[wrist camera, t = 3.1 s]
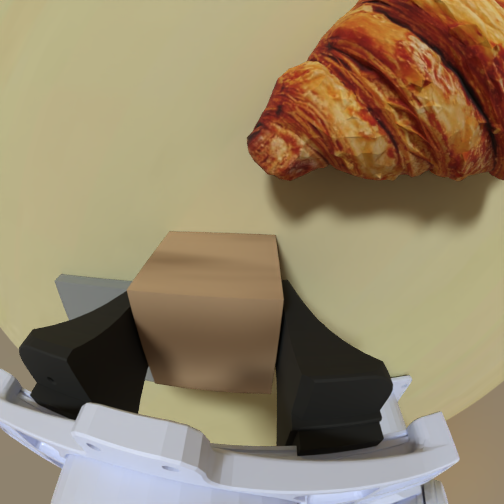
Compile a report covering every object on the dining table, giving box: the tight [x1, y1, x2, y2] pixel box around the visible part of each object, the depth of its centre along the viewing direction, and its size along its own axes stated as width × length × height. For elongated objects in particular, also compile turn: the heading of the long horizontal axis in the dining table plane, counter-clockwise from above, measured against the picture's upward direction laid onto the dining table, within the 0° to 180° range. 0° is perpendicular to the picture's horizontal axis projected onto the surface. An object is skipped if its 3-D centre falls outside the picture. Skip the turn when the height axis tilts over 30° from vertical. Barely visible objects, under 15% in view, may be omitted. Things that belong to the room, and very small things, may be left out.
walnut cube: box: [127, 231, 284, 394], centre depth 11 cm, size 5×5×5 cm
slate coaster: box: [55, 274, 154, 382], centre depth 15 cm, size 8×8×1 cm
